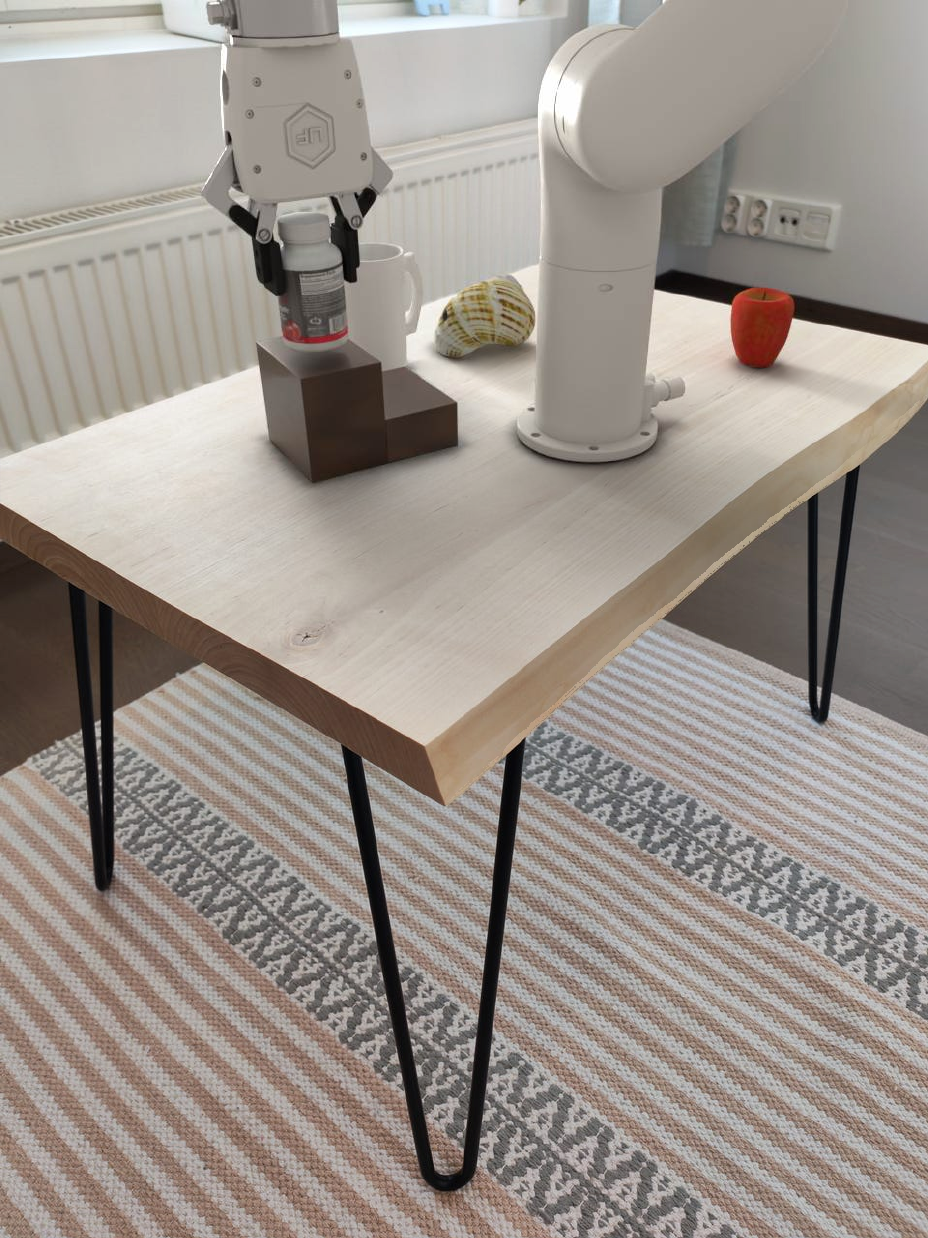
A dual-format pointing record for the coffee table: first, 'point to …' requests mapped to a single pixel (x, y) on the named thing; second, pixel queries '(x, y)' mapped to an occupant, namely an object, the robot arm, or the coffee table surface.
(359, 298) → the mug
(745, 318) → the apple
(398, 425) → the step shelf
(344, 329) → the pill bottle
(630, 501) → the coffee table surface
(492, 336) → the seashell
